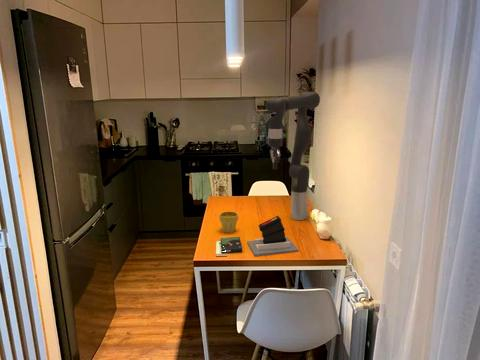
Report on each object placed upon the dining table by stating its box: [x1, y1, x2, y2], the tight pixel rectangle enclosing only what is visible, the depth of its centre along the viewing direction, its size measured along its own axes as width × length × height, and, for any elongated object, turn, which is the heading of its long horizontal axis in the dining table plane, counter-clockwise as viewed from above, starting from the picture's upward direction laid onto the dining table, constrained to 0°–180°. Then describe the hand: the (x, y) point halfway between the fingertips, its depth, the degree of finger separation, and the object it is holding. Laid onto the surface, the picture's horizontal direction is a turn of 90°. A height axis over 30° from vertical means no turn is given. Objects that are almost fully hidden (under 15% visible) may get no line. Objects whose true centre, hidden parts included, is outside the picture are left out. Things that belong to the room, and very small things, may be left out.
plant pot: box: [218, 210, 239, 234], centre depth 207 cm, size 10×10×10 cm
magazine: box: [258, 215, 286, 244], centre depth 184 cm, size 4×13×15 cm, turn 95°
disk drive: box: [220, 236, 243, 255], centre depth 187 cm, size 10×3×15 cm
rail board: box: [246, 236, 299, 257], centre depth 185 cm, size 22×16×4 cm
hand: (275, 169), depth 200 cm, fingers closed
